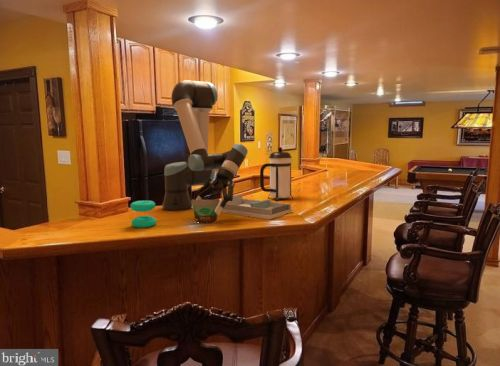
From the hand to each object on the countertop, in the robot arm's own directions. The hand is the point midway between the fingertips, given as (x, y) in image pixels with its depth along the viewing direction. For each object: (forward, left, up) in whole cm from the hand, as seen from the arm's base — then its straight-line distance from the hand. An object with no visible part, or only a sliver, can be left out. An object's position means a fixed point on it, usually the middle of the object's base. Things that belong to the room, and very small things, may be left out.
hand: (204, 211), depth 156 cm
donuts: (-18, -17, -5) cm, 26 cm away
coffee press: (-6, +67, -5) cm, 67 cm away
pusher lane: (+4, +31, -5) cm, 31 cm away
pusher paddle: (+4, +31, -3) cm, 31 cm away
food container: (0, +2, -5) cm, 6 cm away
